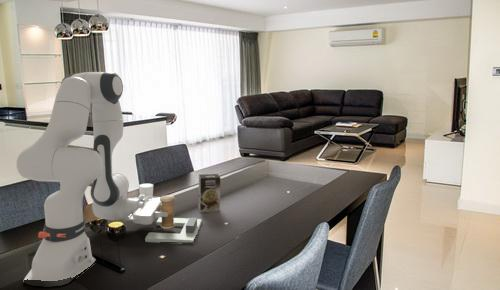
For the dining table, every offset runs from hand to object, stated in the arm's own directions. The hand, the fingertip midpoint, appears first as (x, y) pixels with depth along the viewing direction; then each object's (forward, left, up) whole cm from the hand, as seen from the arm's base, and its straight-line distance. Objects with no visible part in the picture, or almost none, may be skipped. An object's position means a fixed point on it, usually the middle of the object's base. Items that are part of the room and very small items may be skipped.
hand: (169, 211), depth 155 cm
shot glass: (+35, +20, -9) cm, 41 cm away
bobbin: (0, +1, -6) cm, 7 cm away
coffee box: (+25, -12, -9) cm, 29 cm away
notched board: (0, -2, -8) cm, 9 cm away
